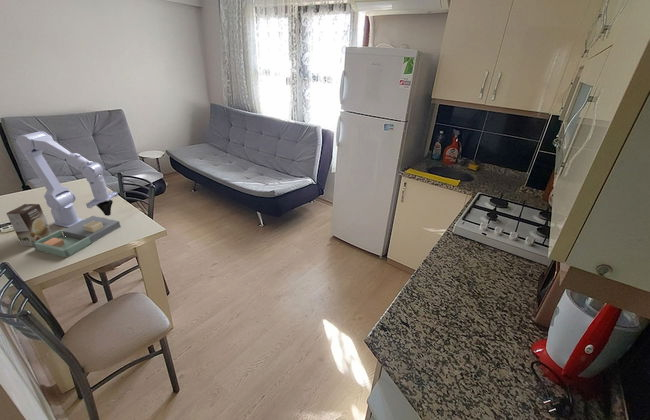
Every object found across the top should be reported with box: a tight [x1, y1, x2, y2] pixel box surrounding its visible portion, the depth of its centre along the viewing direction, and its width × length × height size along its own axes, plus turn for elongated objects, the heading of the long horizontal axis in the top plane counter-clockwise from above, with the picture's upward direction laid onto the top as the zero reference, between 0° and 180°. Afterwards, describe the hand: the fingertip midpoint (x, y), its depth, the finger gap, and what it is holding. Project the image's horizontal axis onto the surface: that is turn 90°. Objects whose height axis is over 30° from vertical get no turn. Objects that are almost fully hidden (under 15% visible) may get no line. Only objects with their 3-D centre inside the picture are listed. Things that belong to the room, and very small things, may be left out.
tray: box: [33, 229, 93, 259], centre depth 127 cm, size 17×11×4 cm, turn 76°
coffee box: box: [6, 203, 53, 247], centre depth 127 cm, size 9×6×16 cm
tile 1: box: [44, 238, 65, 247], centre depth 126 cm, size 5×5×2 cm
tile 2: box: [83, 221, 103, 232], centre depth 135 cm, size 5×5×2 cm
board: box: [61, 215, 121, 244], centre depth 139 cm, size 16×15×3 cm
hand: (107, 214), depth 141 cm, fingers closed
